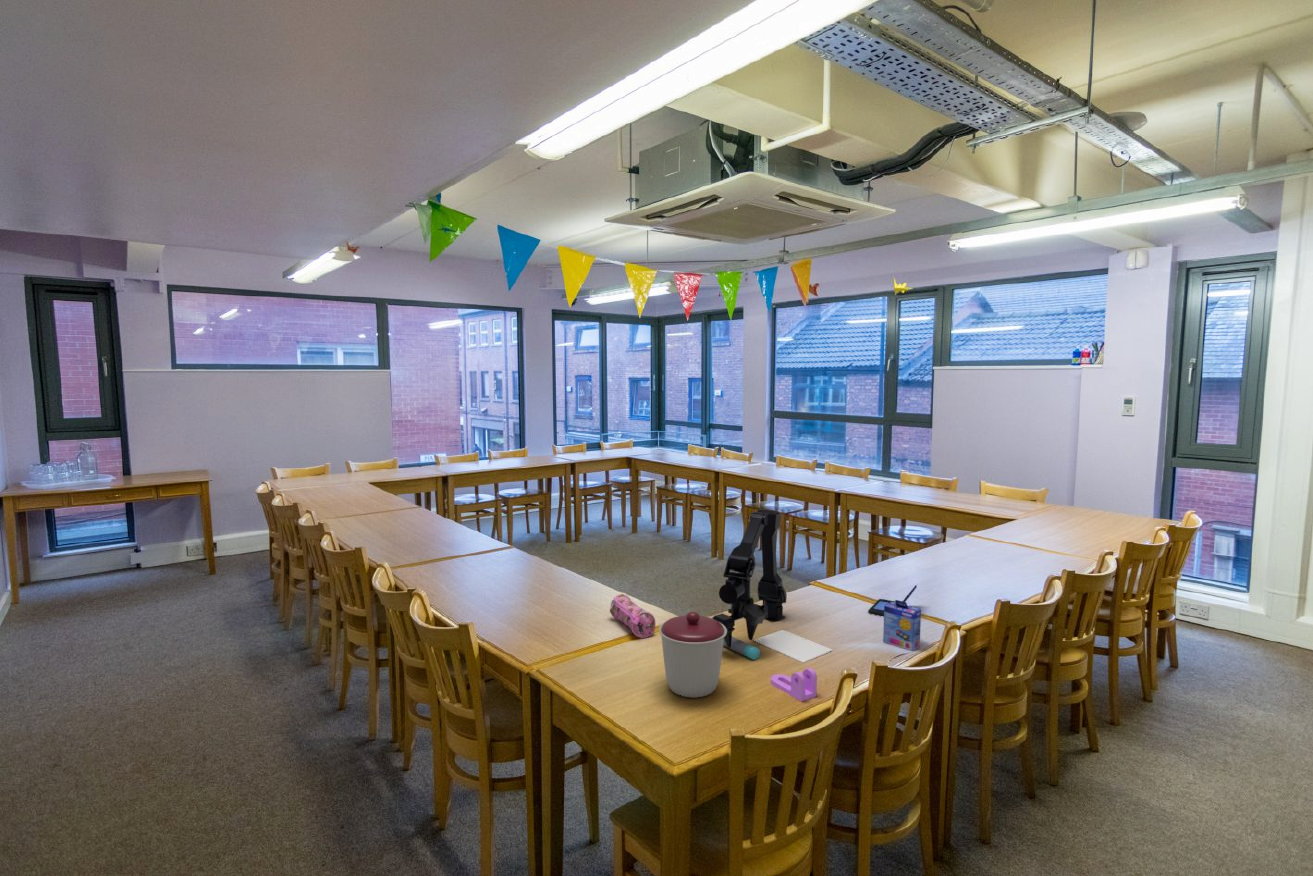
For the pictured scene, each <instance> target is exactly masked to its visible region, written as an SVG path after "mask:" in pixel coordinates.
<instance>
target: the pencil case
mask: <svg viewBox="0 0 1313 876" xmlns="http://www.w3.org/2000/svg"><path fill="white" fill-rule="evenodd" d="M609 613H610V615H611V616H612V617H613V618H614V619H617V621H619V622H621V623H622V624H624V625H625V626H627V627H628V628H629V629H630V630H631V632H632V633H633V634H634V635H635V636H636V637H638V638H640V639H645V638H648V637H651V636H652V635H654V632H655V630H656V618H655V616H654V614H652V613H651V612H649V611H646V610H645V609H643V608H642V607H641V606H639V605H637V604H636V603H635V602H634V601H633V600H632V599H631V598H630V597H629V596H628V595H627V594H624V593H620V594H618V595H616V596H615V597H613V599H612V600H611V601H610V608H609Z"/></svg>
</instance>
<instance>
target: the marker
mask: <svg viewBox="0 0 1313 876" xmlns="http://www.w3.org/2000/svg"><path fill="white" fill-rule="evenodd" d="M723 647H725V648H728V649H730V650H731V651H733V652H736V653H738V654H739V655H742V656H744V657H746V656H747V658H749V659H751V660H753V661H756V660H758V659H759V657H760V656H761V655H760V654H761V650H760V648H758V647H756V646H754V645H752V644H750V643H748V642H745V641H743V640H741V639H738V638H736V637H735V636H732V641H731V647H730V648H729V647H727V644H726V642H725V640H724V643H723ZM757 658H758V659H757ZM755 659H756V660H755Z"/></svg>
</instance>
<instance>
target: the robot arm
mask: <svg viewBox="0 0 1313 876" xmlns="http://www.w3.org/2000/svg"><path fill="white" fill-rule="evenodd" d="M781 522H782V515H781V514H780V512H778V510H775V509H766V508H759V509H758V510H757V511H752V512H751V513H750V516H749V521H748V524H747V527H746V529H745V532H744V533H743V537H742V539H741V542H740V543H739V545H737V546H736V547H734V548H733V549H732V551H731V552H730V554H729V555H728V556H727V557H728V558H727V562H726V565H725V568H724V572H723V577H724V578H727V579H726V580H725V583H724V584H723V585H722V586H720V588H719V591H718V597H719V598H720V599H721V602H723V603H725V604H726V605H730V608H728V609H727V612H728V614H731V615H727V614H725V613H720V614H716V615H714V616H713V617H712V619H714V620H716V621H718V622H720V623H721V624H723V625H724V626H725V627H726V629H727V634H726V636H725V637H724V640H725V642H726V644H727V647H729V648H728V649H730V647H731V641H732V637H733V632H734V631H735V630H736V628H735V623H736V621H737V622H738V621H741V620H743V619H744V620H745V623H746V624H745V625H746V631H747V637H748V640H750V641H753V640H754V635H755V633H756V630H757V627H758V625H760V624H763V623H764V621H765V620H767V621H769V622H771V623H772V622H777V621H780V620H783V619H785V618H786V616H785V615H783V614H784V611H783V610H784V606H783V604H786V603H787V592H786V589H785V587H784V586H783V585H784V584H783V579H782V577H781V576H780V574H779V573H778V569H777V568H778V566H777V546H776V545H777V543H776V533H777V531H778V530H779V529H780V526H781V525H780V524H781ZM760 538H761V539H760ZM759 540H761V541H760V542H761V558H762V561H761V562H762V576H761V578H760V580H759V581H758V583H757V595H758V601H762V605H760V604H758V603H754V602H755V601H754V598H753V597H751V578H752V577H753V574H754V571H755V568H756V565H757V564H756V558H755V555H754V553H755V552H756V551H755V550H756V548H757V546H758V543H759ZM727 647H726V648H727Z"/></svg>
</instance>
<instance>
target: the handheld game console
mask: <svg viewBox="0 0 1313 876" xmlns="http://www.w3.org/2000/svg"><path fill="white" fill-rule="evenodd" d="M917 586H918V585H916V584H915V585H914V587H913V588H912V589H911V590H910V591H909V593H908V594H907V595H906V596H905V597H904V599H903V600H902V601H903V602H906V603H907V600H908V599H909V598H910V597H911V595H912V594H913V593H914V592H915V590H916V589H917V588H918V587H917ZM890 602H895V601H894V600H890V599H884V598H878V600H877V601H876V602H874V604H873V605H872V606H870V608H869V609H868V610H867V611H868V612H867V613H868V614H869V615H872V614H874V616H877V615H879V616H878V617H881V616H883V618H884V605H886V604H888V603H890ZM898 603H900V602H898ZM900 604H903V603H900ZM903 605H905V604H903Z"/></svg>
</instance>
